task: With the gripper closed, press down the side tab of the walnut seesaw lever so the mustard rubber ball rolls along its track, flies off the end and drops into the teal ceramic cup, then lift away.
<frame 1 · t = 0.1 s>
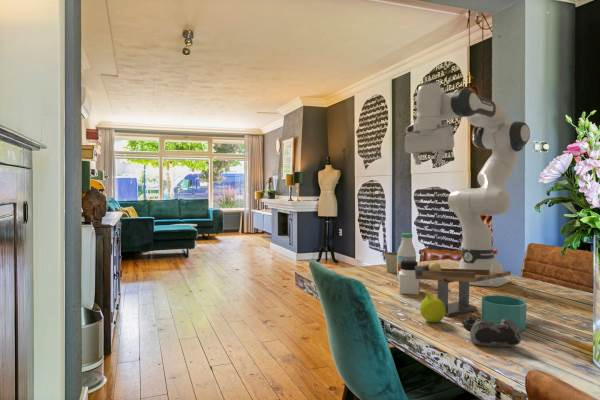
hand: (428, 164, 151), 48 cm above the table, tool pointing down, fingers open, 8 cm apart
ball: (434, 268, 135), point 12 cm above the table, tilted 14°, touching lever
flower pot: (393, 272, 191), on the table
lever stand: (453, 310, 130), on the table
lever: (461, 271, 133), point 12 cm above the table, hinge at 8.0°, touching ball
medicine bottle: (408, 292, 153), on the table
ornament: (432, 322, 118), on the table
bison figurine: (490, 343, 103), on the table
milk bottle: (406, 281, 172), on the table
cup: (503, 324, 116), on the table
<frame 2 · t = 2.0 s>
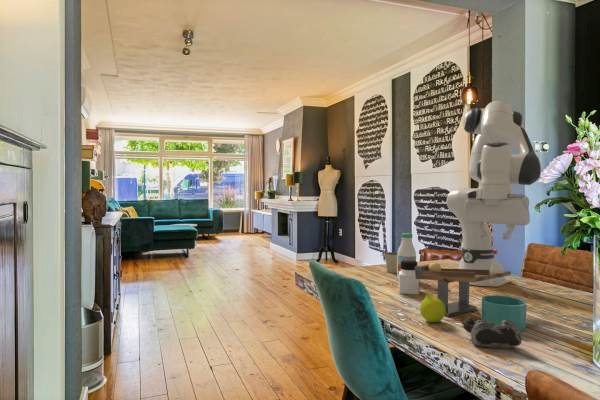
hand: (494, 237, 128), 23 cm above the table, tool pointing down, fingers open, 6 cm apart
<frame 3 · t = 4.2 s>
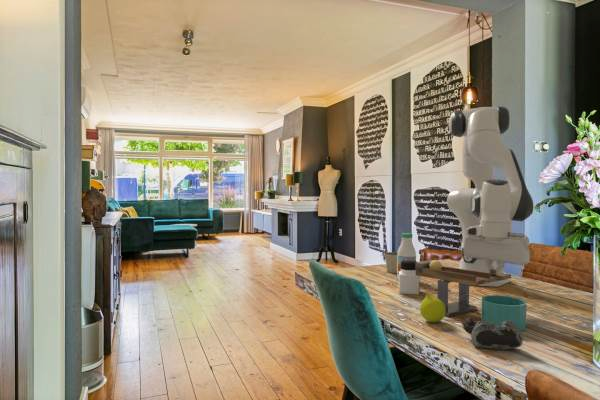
hand: (494, 275, 128), 12 cm above the table, tool pointing down, fingers closed, pressing on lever
ball: (435, 266, 135), point 13 cm above the table, tilted 8°, touching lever
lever: (461, 271, 133), point 12 cm above the table, hinge at 2.0°, touching ball, gripper
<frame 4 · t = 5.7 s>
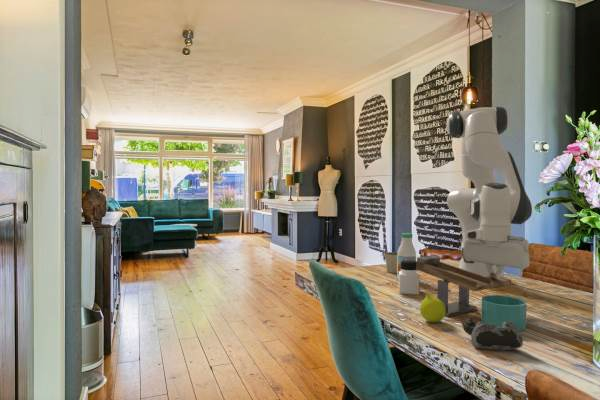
hand: (494, 278, 128), 10 cm above the table, tool pointing down, fingers closed
ball: (503, 315, 116), point 3 cm above the table, tilted 34°, touching cup
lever: (462, 271, 133), point 12 cm above the table, hinge at -7.4°, touching gripper
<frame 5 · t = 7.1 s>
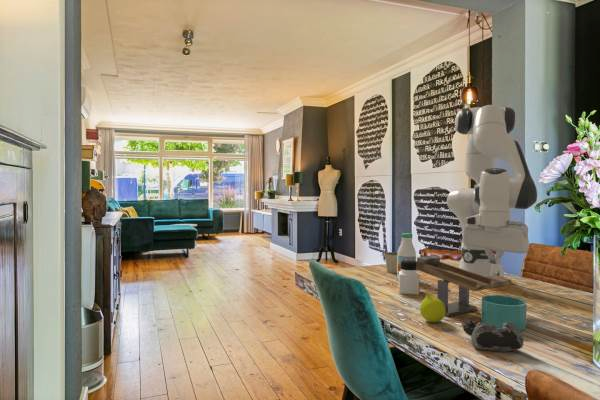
hand: (494, 263, 129), 15 cm above the table, tool pointing down, fingers closed
ball: (497, 314, 117), point 3 cm above the table, tilted 89°, touching cup
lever: (462, 271, 133), point 12 cm above the table, hinge at -7.4°
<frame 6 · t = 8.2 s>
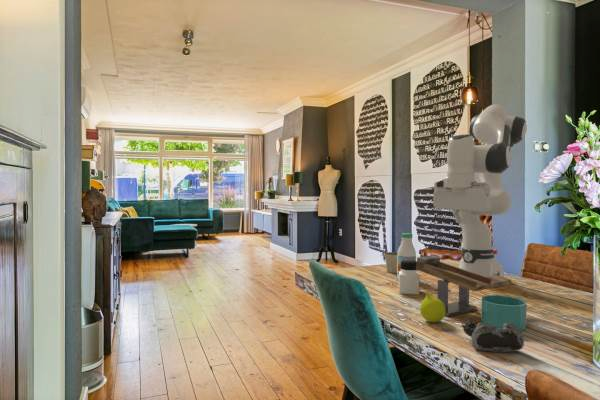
hand: (460, 223, 139), 27 cm above the table, tool pointing down, fingers closed
ball: (502, 315, 116), point 3 cm above the table, tilted 44°, touching cup
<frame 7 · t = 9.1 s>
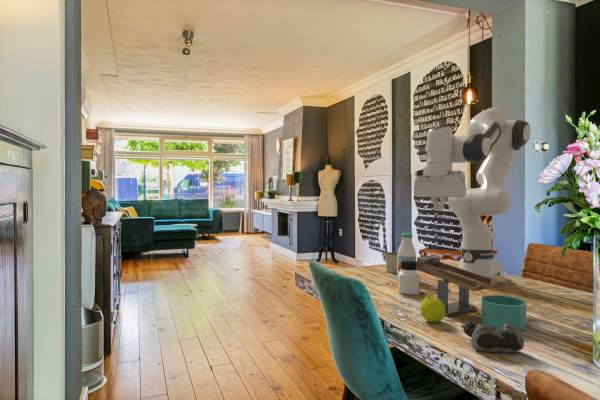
hand: (438, 210, 146), 31 cm above the table, tool pointing down, fingers closed
ball: (507, 316, 115), point 3 cm above the table, tilted 7°, touching cup
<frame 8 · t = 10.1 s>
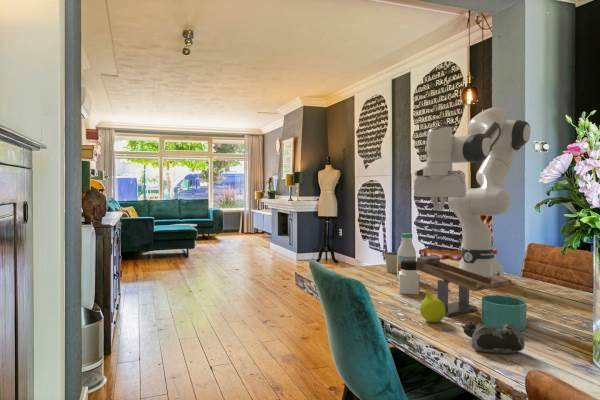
hand: (438, 210, 146), 31 cm above the table, tool pointing down, fingers closed
ball: (512, 318, 113), point 3 cm above the table, tilted 34°, touching cup
at the end: ball inside the target area on the cup (2.5 cm from its centre), point 2.6 cm above the cup's base; ball moved 27.7 cm from its start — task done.
